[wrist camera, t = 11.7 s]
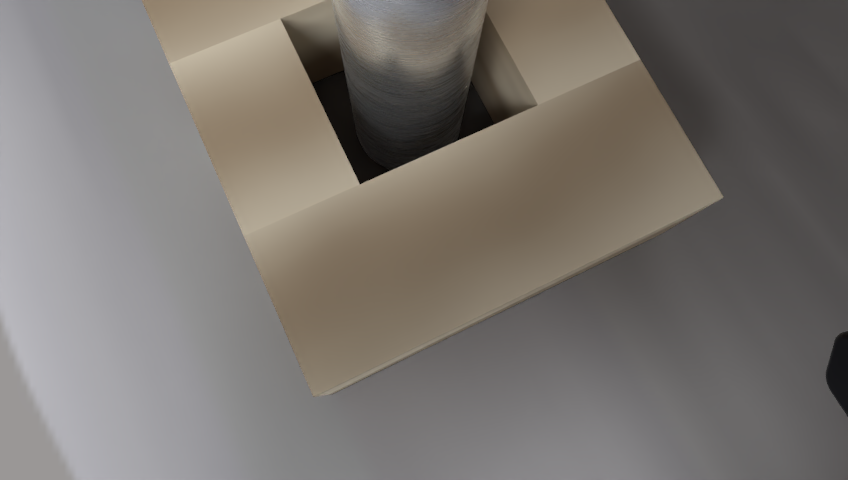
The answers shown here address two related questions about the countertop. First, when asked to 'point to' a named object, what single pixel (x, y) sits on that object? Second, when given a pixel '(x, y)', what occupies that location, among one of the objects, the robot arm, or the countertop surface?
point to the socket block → (429, 173)
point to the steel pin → (408, 72)
